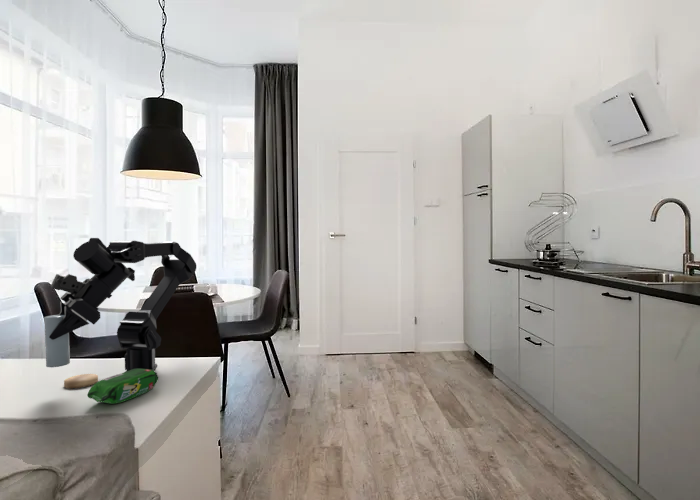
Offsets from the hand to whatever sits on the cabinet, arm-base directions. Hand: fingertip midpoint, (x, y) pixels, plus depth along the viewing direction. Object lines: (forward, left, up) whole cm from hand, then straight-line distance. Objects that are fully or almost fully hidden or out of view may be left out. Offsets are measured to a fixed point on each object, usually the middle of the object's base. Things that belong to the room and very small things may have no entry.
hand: (49, 336), depth 96 cm
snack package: (-17, +4, -14) cm, 22 cm away
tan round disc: (-3, -7, -13) cm, 16 cm away
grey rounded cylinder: (-1, -1, -7) cm, 7 cm away
